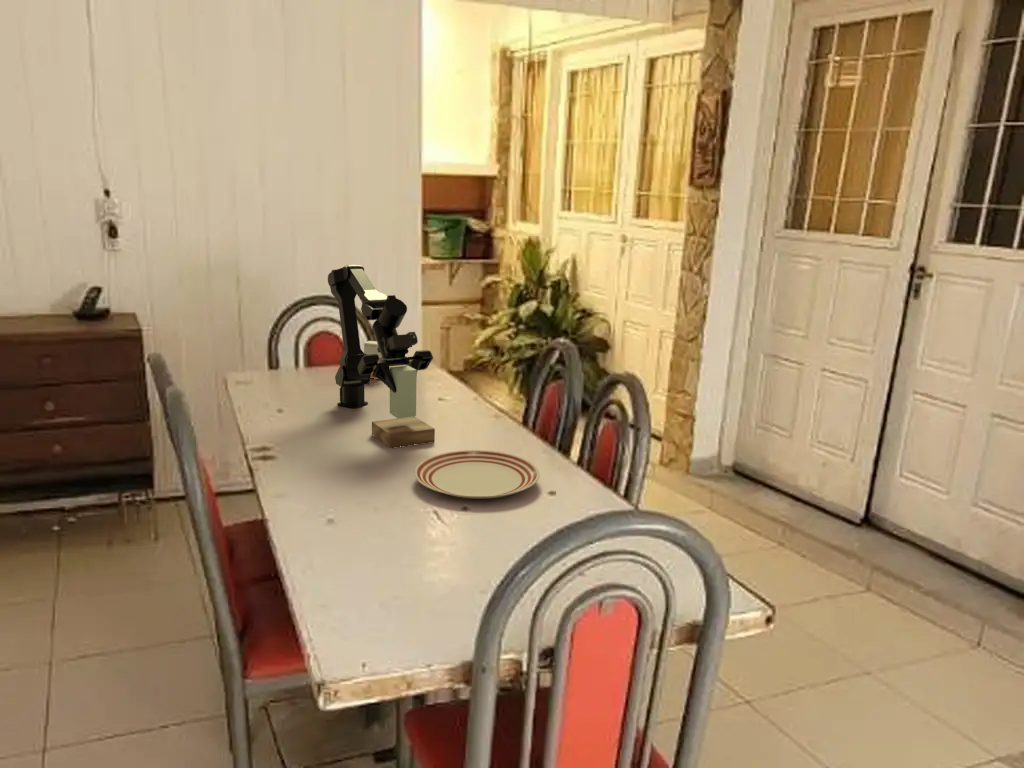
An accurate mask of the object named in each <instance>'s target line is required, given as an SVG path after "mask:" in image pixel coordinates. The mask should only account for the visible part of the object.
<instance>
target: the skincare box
mask: <svg viewBox="0 0 1024 768" xmlns="http://www.w3.org/2000/svg"><path fill="white" fill-rule="evenodd" d="M377 349H378V344H377V341H374V340H368V341H365V342H364V343H363V352H364V354H367V355H371V354H377V355H378V356H379V358H381V357H382V356H381V353H380V352H379V353H378V350H377ZM373 372H374V371H373ZM373 372H372V373H371V376H370V378H374V379H373V380H376V379H378V378H377V377H373V376H372V374H373Z"/></svg>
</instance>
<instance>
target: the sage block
mask: <svg viewBox="0 0 1024 768" xmlns="http://www.w3.org/2000/svg"><path fill="white" fill-rule="evenodd" d="M389 367H390V372H391V375H392V378H393V380H394V383H395V386H396V393H394V392H393V391H392V390H391V389H390V388H389V414H390V415H392V416H393V417H395V419H397V418H406V417H414V416H415V417H417V382H416V379H417V374H418V371H417V370H416V369H414V368H412V367H410V366H406V365H400V366H389Z"/></svg>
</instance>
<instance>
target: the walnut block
mask: <svg viewBox="0 0 1024 768" xmlns="http://www.w3.org/2000/svg"><path fill="white" fill-rule="evenodd" d="M435 434H436V430H435V428H434V427H432V426H431V425H430V424H429V423H428V424H427V423H426V422H425V421H423V420H422V419H419V418H418V417H417V416H413V417H405V418H392V419H383V420H375V421H373V420H372V421H371V436H372V435H374V436H375V437H376V438H375V437H374V436H373V437H374V438H375V439H377V440H378V439H379V440H380V441H379V440H378V441H379V442H381V443H382V442H383V443H384V444H383V443H382V444H383V445H385V444H386V445H387V446H389V447H390V448H391V449H395V448H394V447H398V448H403V447H402V446H405V447H409V446H408V445H412V446H415V445H414V444H419V445H422V444H421V443H426V444H430V443H429V442H433V443H435V440H436V439H435ZM386 445H385V446H386ZM387 446H386V447H387ZM400 446H401V447H400ZM389 447H388V448H389ZM390 448H389V449H390Z"/></svg>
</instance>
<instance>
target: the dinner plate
mask: <svg viewBox="0 0 1024 768" xmlns="http://www.w3.org/2000/svg"><path fill="white" fill-rule="evenodd" d="M413 474H414V477H415V479H416V481H417V482H419V483H420V484H421V485H423V487H425V488H427V489H430V490H432V491H434V492H436V493H437V492H438V493H441V494H445V495H447V496H453V497H457V498H464V499H473V500H475V499H477V500H478V499H479V500H480V499H483V500H484V499H494V498H495V499H496V498H503V497H507V496H511V495H514V494H515V495H516V494H518V493H520V492H522V491H525V490H528V489H529V488H531V487H532V486H534V485H535V484H536V483H537V482H538V481H539V479H540V476H541V474H540V470H539V468H538V467H537V466H536V465H535V464H534V463H532V462H531V461H530V460H528V459H526V458H524V457H521V456H519V455H516V454H512V453H507V452H504V451H503V452H501V451H494V450H485V449H484V450H483V449H481V450H480V449H475V450H474V449H468V450H467V449H465V450H463V449H462V450H456V451H455V450H454V451H447V452H443V453H439V454H435V455H433V456H430V457H428V458H425V459H424V460H422V461H420V462H419V463H418V464H417V465H416V467H415V469H414V471H413Z"/></svg>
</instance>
